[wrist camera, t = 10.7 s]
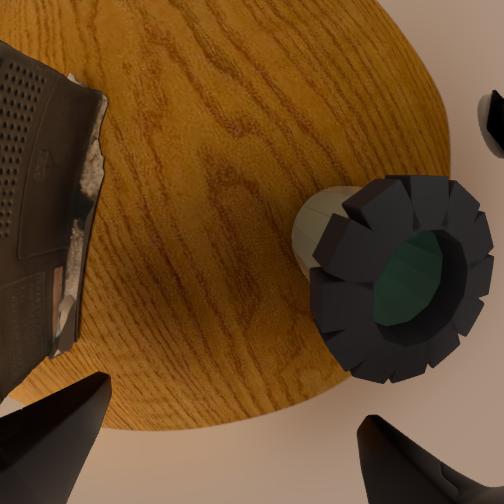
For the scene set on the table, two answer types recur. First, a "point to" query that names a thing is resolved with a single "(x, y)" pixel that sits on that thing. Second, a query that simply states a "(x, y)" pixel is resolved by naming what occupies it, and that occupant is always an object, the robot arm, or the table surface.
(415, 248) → the cup
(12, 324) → the radio
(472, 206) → the ring
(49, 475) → the robot arm
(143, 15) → the table surface
